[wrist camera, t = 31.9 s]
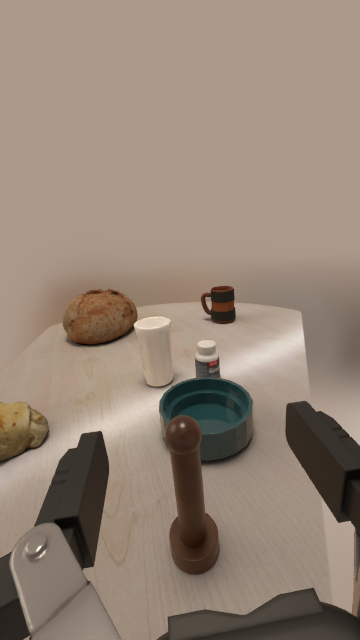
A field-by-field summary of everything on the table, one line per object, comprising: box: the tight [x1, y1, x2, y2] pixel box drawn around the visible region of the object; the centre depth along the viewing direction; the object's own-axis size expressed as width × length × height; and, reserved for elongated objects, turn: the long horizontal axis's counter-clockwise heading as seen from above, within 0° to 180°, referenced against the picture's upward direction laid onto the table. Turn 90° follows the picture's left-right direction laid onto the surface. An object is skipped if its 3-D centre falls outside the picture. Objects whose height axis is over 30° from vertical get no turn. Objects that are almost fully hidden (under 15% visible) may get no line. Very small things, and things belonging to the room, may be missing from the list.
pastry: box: [0, 402, 48, 462], centre depth 47 cm, size 14×12×8 cm
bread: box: [63, 289, 138, 344], centre depth 96 cm, size 26×23×15 cm
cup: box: [134, 317, 173, 387], centre depth 61 cm, size 8×8×14 cm
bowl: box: [159, 377, 253, 461], centre depth 46 cm, size 15×15×6 cm
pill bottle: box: [195, 340, 220, 378], centre depth 60 cm, size 5×5×9 cm
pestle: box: [165, 415, 219, 574], centre depth 27 cm, size 5×5×17 cm
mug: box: [201, 286, 235, 324], centre depth 98 cm, size 9×12×12 cm
